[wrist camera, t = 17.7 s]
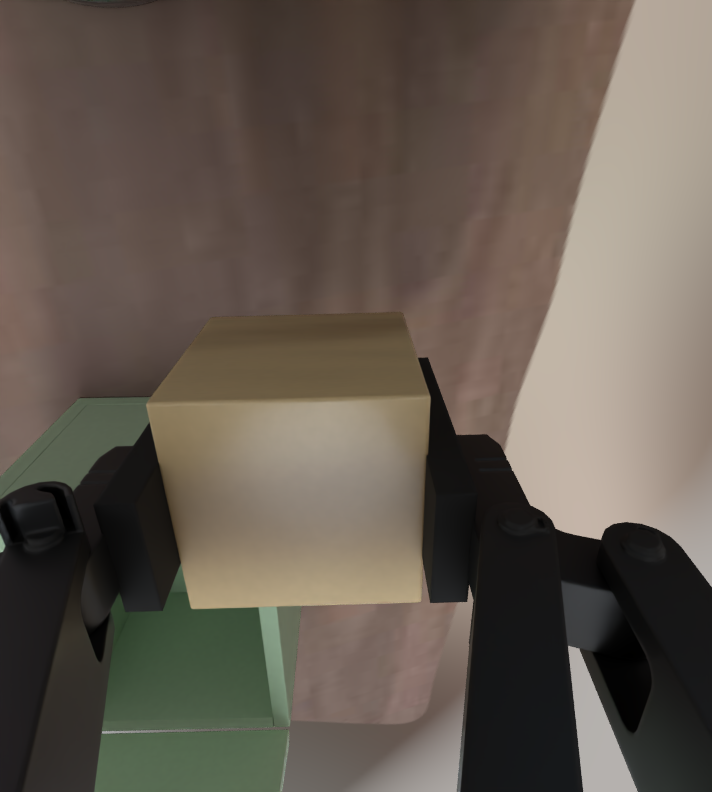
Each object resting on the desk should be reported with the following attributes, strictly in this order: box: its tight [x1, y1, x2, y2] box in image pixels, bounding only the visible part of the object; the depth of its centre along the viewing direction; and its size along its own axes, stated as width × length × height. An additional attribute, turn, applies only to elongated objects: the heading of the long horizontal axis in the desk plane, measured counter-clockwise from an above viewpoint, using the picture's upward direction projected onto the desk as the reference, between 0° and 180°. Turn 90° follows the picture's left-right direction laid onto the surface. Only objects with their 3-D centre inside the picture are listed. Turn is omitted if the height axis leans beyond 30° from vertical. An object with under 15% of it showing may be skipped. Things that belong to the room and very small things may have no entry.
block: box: [146, 312, 431, 609], centre depth 14 cm, size 6×6×6 cm
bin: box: [0, 397, 301, 731], centre depth 30 cm, size 16×12×10 cm
